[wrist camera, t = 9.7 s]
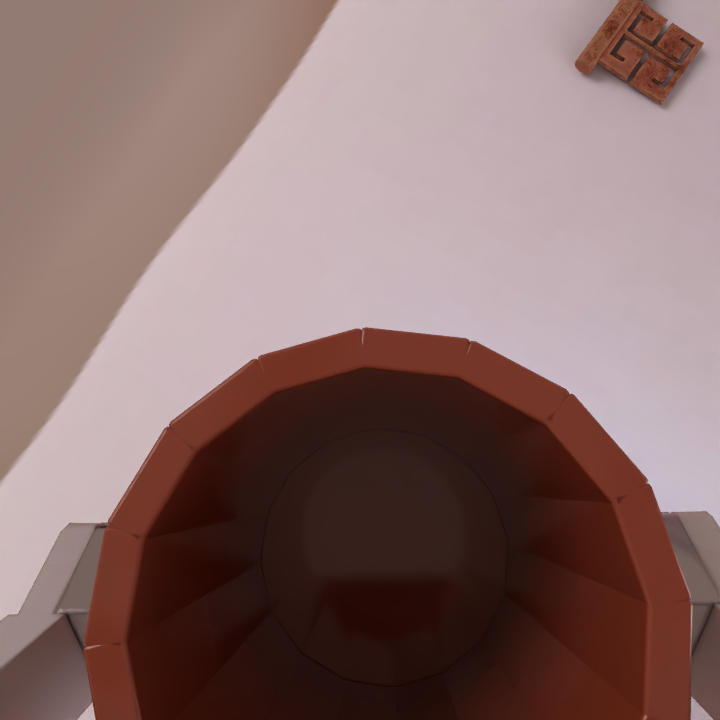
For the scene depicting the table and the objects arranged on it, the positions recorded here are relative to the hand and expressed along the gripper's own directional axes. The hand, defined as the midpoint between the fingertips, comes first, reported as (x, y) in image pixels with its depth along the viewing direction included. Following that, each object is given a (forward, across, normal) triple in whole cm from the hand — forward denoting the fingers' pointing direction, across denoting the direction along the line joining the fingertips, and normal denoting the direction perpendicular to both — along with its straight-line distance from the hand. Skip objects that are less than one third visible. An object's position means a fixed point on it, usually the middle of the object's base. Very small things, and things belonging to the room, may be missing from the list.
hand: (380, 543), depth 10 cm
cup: (+3, 0, +4) cm, 5 cm away
